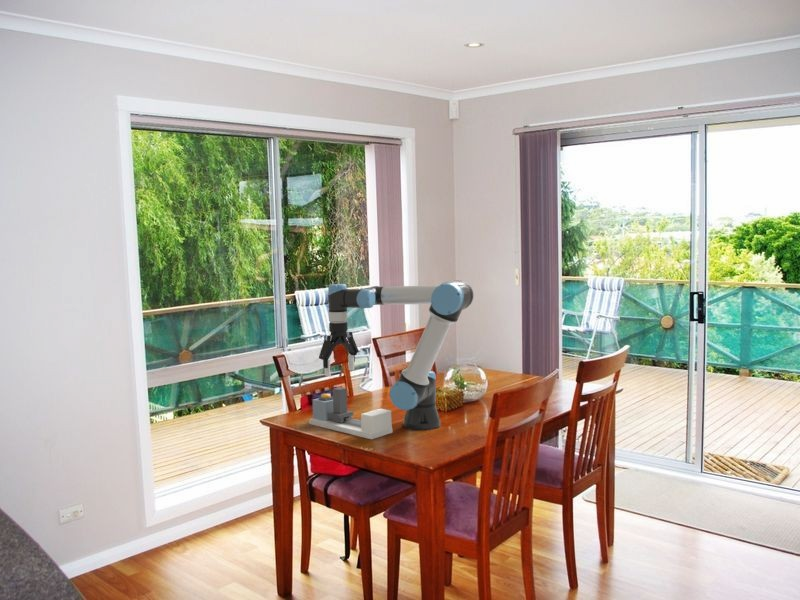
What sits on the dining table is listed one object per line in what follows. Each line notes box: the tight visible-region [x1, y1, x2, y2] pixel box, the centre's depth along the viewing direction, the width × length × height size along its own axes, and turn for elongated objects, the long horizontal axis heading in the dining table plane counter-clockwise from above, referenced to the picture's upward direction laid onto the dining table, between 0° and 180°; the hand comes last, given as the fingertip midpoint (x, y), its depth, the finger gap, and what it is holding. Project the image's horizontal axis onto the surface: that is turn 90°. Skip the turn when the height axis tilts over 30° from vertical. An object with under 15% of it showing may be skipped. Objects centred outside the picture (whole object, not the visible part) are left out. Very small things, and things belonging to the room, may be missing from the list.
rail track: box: [308, 408, 394, 440], centre depth 296 cm, size 36×12×9 cm, turn 49°
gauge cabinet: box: [312, 397, 333, 421], centre depth 305 cm, size 8×8×8 cm
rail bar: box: [343, 417, 361, 427], centre depth 295 cm, size 22×2×2 cm, turn 49°
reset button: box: [318, 393, 333, 401], centre depth 304 cm, size 4×4×5 cm
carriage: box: [327, 386, 354, 423], centre depth 299 cm, size 7×8×13 cm
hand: (339, 373), depth 297 cm, fingers open, 13 cm apart
